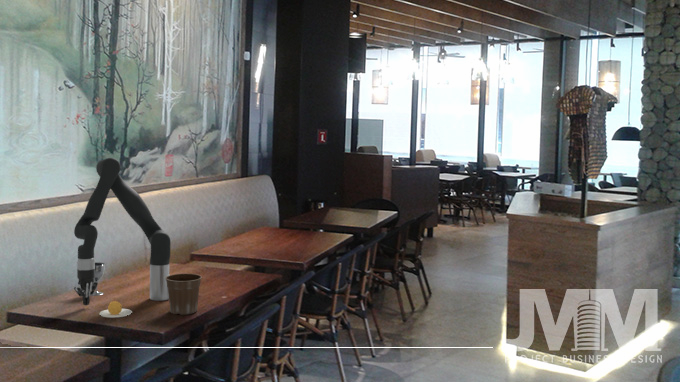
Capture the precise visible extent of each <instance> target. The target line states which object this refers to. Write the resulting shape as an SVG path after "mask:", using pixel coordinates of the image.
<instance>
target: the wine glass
mask: <svg viewBox="0 0 680 382" xmlns="http://www.w3.org/2000/svg"><path fill="white" fill-rule="evenodd" d="M105 266H106V265H105V262H98V261H97V262H95V277H94V278H93V279H94V282H96V283H98V284H99V281H100V280H101V278H102V277H103V276H104V273H105ZM103 295H105V294H104V292H103V291H99V290H98V286H97V287H96V289H95V291H94V293H93V294H91V295H90V296H96V297H97V296H103Z"/></svg>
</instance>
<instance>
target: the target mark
mask: <svg viewBox="0 0 680 382" xmlns="http://www.w3.org/2000/svg"><path fill="white" fill-rule="evenodd" d="M131 313H132V314H133V311H132V309H128V308H122V310H121V312H120V313H119V314H116V315H113V314H110V313H109V311H108V309H105V310H104V309H103V310H101V311H100V312H99V316H100V315H101V317H102V318H123V317H127V315H128V316H130V315H131Z"/></svg>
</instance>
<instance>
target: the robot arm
mask: <svg viewBox="0 0 680 382" xmlns="http://www.w3.org/2000/svg"><path fill="white" fill-rule="evenodd" d="M95 168H96V173H97V174H98V176H99V178H98V179H99V180H98V182H97V185H96V186H95V188H94V191H93V192H92V194H91V195H90V198H89V200H88V201H87V204H86V206H85V210H84V212H83V214H82V215H81V217H80V219H79V220H78V221H77V223H76V224H75V227H74V231H73V233H74V237H75V238H76V239H78V240H83V244H81V245H79V246H78V247H77V260H76V261H77V262H76V263H77V265H76V277H77V279H78V282H77V285H76V286H75V287H74V288H73V290H74V291H75V292H76V294H77V295H78V296H79V297H82V304H83V306H89V305H90V299H91V298H90V297H91V296H92V295H91V294H93V293H94V292H95V289H96V287H97V288H98V285H99V282H98V283H96V282H94V279H93V278H94V277H95V261H96V260H95V246H96V243H97V240H98V236H99V235H98V229H97V227H96V226H95V225H93V222H97V221H99V219H100V217H101V214H102V211H103V209H104V205H105V203H106V200H107V199H108V196H109V193H110V191H112V192H113V194H114V195H115V197H116V199H117V200H118V201H119V203H120V205H121V206H122V208H123V209H124V210H125V211H126V213H127V214H128V216H129V217H131V218H130V219H132V221H134V222H135V223H136V224H137V225H138V226H139V228H140V229H141V230H142V232H143V233H144V235H145V237H146V238H147V240H148V242H149V244H150V256H149V257H150V258H149V300H152V301H167V300H168V301H169V293H168V287H167V281H166V279H165V278H166V277H167V276H169V275H170V260H171V247H172V246H171V238H170V236H169V234H168V233H167V232H166V231H165V230H163V229H162V227H161V226H160V225H159V224H158V223H157V221H156V220H155V219H154V217H153V214H152V213H151V211H150V209H149V207H148V206H147V204H146V203H145V201H144V199H143V198H142V197H141V195H140V194H139V193H138V192H137V191H136V190H135V189H133V188H132V187H131V186H130V185H129V184H128V183H127V182H126V181H125V180H124V179H123V177H122V176H121V174H120V172H121V169H122V167H121V163H120V161H119V160H118V159H117V158H115V157H107V158H104V159H101V160H99V161H98V162H97V163H96V167H95Z"/></svg>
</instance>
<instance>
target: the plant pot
mask: <svg viewBox="0 0 680 382" xmlns="http://www.w3.org/2000/svg"><path fill="white" fill-rule="evenodd" d="M202 278H203V277H202V275H200V274H198V273H197V274H196V273H175V274H169V276H167V277H166V278H165V279H166V281H167V287H168V293H169V299H168V302H169V303H168V304H169V312H170V314H172V315H178V314H179V315H182V316H183V315H184V316H185V315H193V314H195V313H196V312H197V311H198V305H199V292H200V286H201V281H202Z"/></svg>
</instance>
